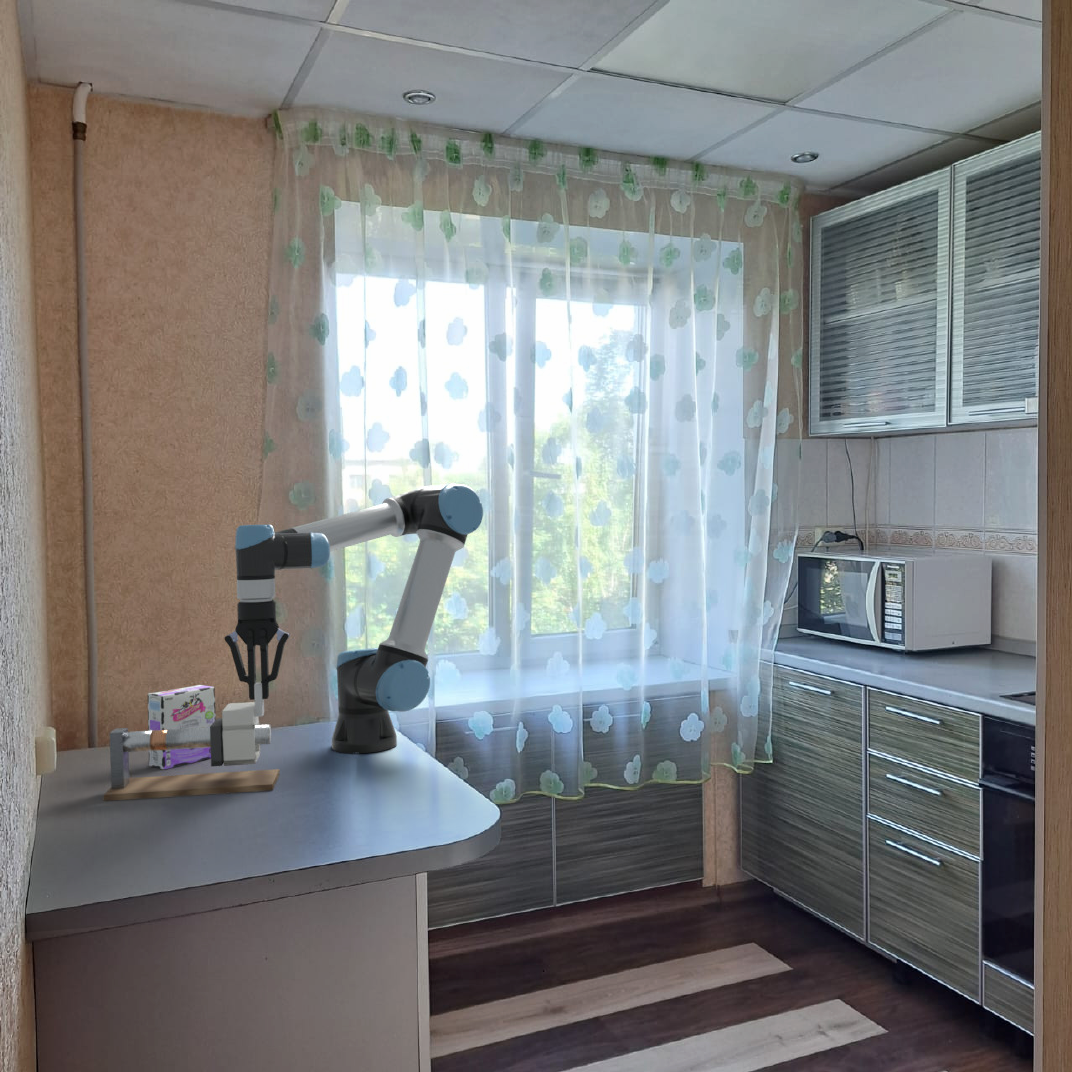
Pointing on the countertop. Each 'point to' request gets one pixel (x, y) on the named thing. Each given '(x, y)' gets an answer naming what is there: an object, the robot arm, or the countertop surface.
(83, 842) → the countertop surface
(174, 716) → the candy box
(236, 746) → the sleeve
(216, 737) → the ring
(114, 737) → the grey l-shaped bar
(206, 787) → the board
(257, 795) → the countertop surface
